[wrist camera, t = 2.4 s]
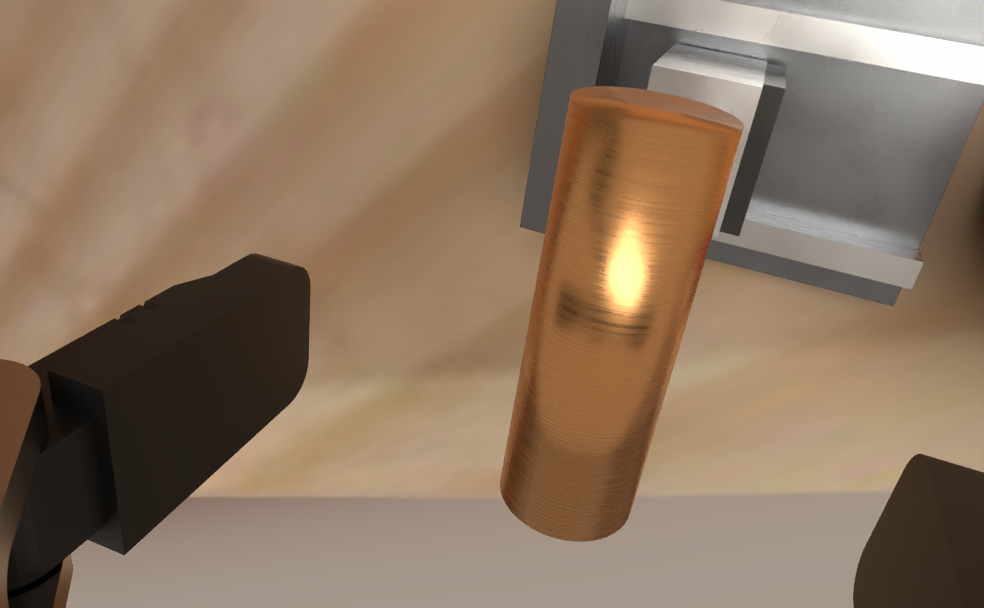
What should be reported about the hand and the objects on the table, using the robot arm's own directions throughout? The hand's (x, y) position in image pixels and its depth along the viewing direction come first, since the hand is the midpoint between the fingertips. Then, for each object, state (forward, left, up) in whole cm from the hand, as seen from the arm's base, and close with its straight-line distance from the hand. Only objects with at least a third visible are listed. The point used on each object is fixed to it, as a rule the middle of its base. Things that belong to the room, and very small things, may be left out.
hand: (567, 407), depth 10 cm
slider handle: (0, 0, -19) cm, 19 cm away
